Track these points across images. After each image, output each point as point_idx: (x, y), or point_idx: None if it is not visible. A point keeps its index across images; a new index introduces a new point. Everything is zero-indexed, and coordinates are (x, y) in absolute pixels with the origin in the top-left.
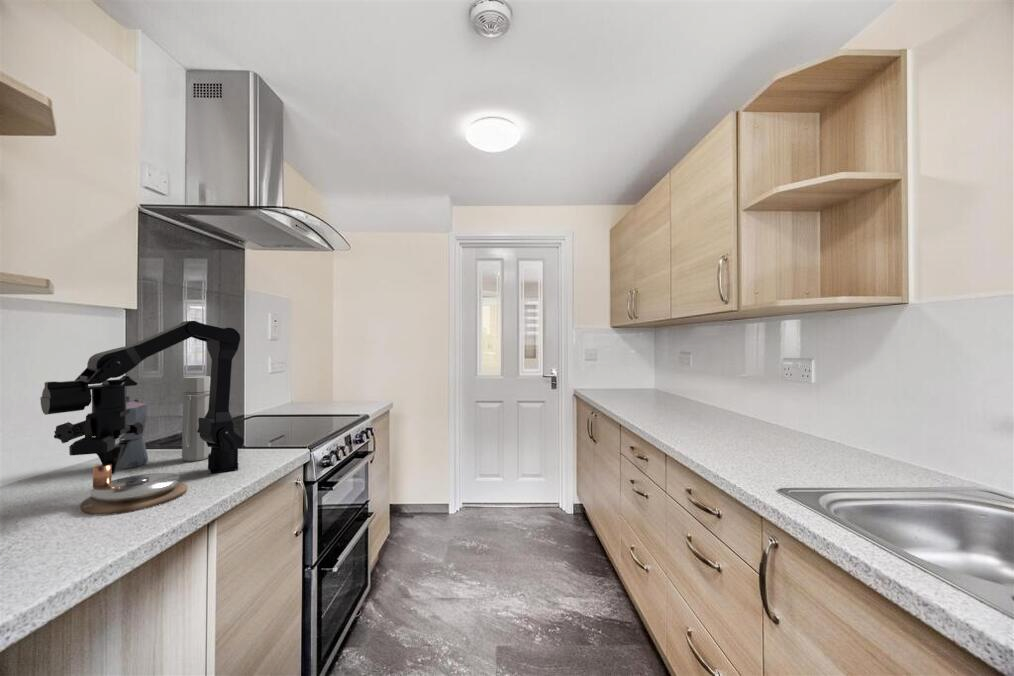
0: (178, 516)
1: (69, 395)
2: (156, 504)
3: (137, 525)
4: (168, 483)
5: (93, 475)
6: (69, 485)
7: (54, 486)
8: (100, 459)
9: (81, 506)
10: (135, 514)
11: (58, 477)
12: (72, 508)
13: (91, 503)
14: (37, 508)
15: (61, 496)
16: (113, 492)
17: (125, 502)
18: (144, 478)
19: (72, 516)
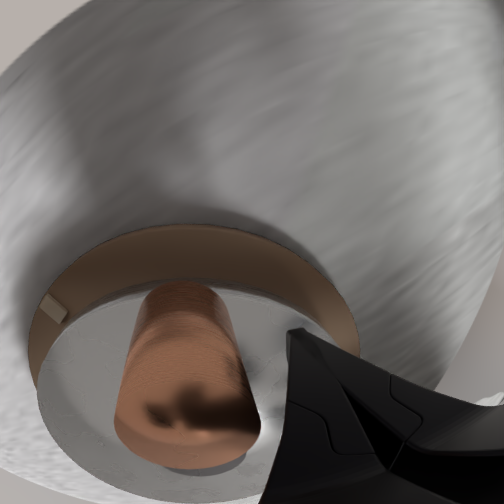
0: (59, 484)
1: None
2: None
3: (7, 443)
4: (174, 500)
5: (134, 346)
6: (453, 40)
7: (447, 5)
8: (282, 429)
9: (60, 275)
10: None
11: (500, 13)
12: (110, 199)
13: (90, 299)
14: (166, 30)
15: (335, 43)
16: (68, 417)
17: None
18: (211, 467)
19: (20, 270)
